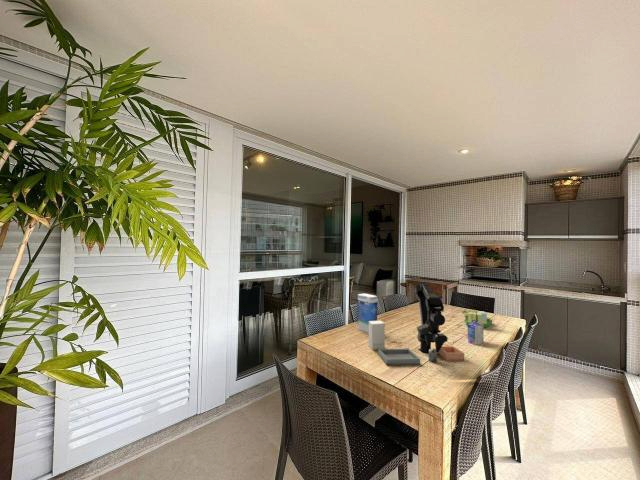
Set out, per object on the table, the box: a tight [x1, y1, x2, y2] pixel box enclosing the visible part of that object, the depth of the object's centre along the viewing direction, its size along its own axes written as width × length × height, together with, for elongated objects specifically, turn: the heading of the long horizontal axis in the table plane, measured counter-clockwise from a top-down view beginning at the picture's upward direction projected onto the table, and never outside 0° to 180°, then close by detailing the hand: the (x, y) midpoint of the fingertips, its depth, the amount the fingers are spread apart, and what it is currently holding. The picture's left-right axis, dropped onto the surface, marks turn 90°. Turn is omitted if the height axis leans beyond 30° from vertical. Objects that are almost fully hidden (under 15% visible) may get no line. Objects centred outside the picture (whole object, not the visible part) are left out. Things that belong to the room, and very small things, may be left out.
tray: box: [377, 348, 421, 366], centre depth 151 cm, size 14×18×3 cm
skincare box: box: [368, 320, 386, 351], centre depth 167 cm, size 8×7×16 cm
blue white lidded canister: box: [357, 293, 378, 335], centre depth 199 cm, size 13×8×26 cm, turn 35°
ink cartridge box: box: [467, 320, 485, 346], centre depth 180 cm, size 10×6×14 cm, turn 121°
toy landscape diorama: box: [461, 309, 493, 328], centre depth 222 cm, size 35×20×13 cm, turn 138°
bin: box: [437, 345, 465, 362], centre depth 156 cm, size 10×10×4 cm
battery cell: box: [428, 347, 438, 364], centre depth 150 cm, size 4×4×7 cm
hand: (432, 348), depth 150 cm, fingers open, 9 cm apart
